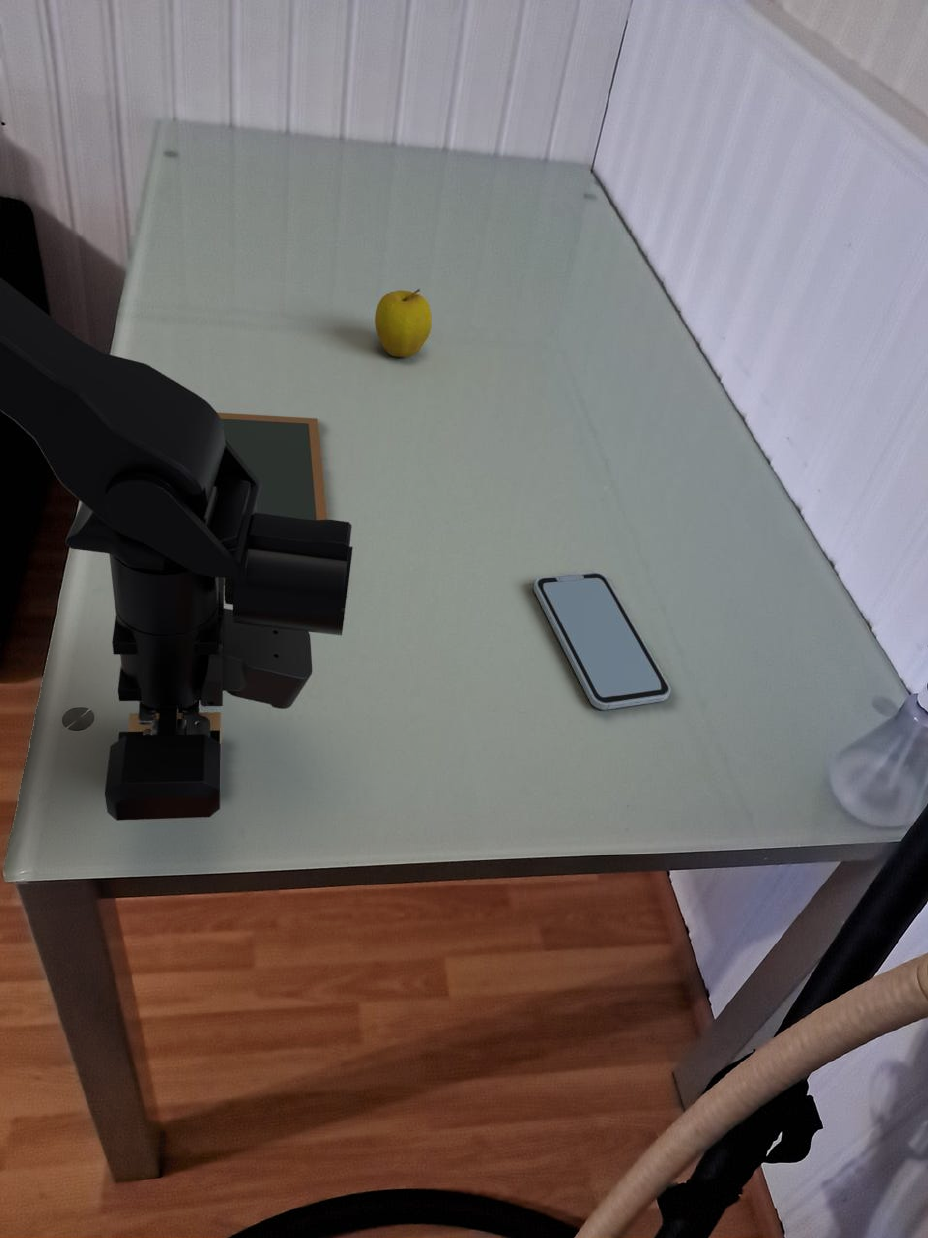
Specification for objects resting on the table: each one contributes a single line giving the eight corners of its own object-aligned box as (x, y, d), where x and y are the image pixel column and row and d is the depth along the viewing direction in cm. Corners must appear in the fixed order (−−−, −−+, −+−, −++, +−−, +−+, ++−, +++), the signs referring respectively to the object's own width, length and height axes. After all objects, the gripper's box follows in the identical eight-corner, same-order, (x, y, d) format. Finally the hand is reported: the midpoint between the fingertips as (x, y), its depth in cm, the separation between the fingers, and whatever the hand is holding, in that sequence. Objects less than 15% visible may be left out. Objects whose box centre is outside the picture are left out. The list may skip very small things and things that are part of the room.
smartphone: (596, 706, 77) (531, 577, 86) (593, 713, 77) (529, 584, 87) (675, 694, 79) (603, 570, 89) (672, 701, 80) (601, 577, 89)
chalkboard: (136, 582, 79) (135, 573, 78) (154, 416, 95) (154, 408, 94) (332, 586, 83) (333, 577, 82) (316, 426, 99) (317, 417, 98)
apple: (436, 354, 114) (447, 290, 108) (405, 373, 109) (414, 308, 104) (393, 332, 116) (401, 269, 110) (360, 350, 111) (368, 285, 106)
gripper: (316, 725, 51) (300, 878, 61) (301, 503, 63) (290, 662, 74) (92, 729, 48) (116, 888, 59) (124, 497, 61) (138, 662, 72)
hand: (175, 762), depth 66 cm, fingers closed on eraser, 4 cm apart
